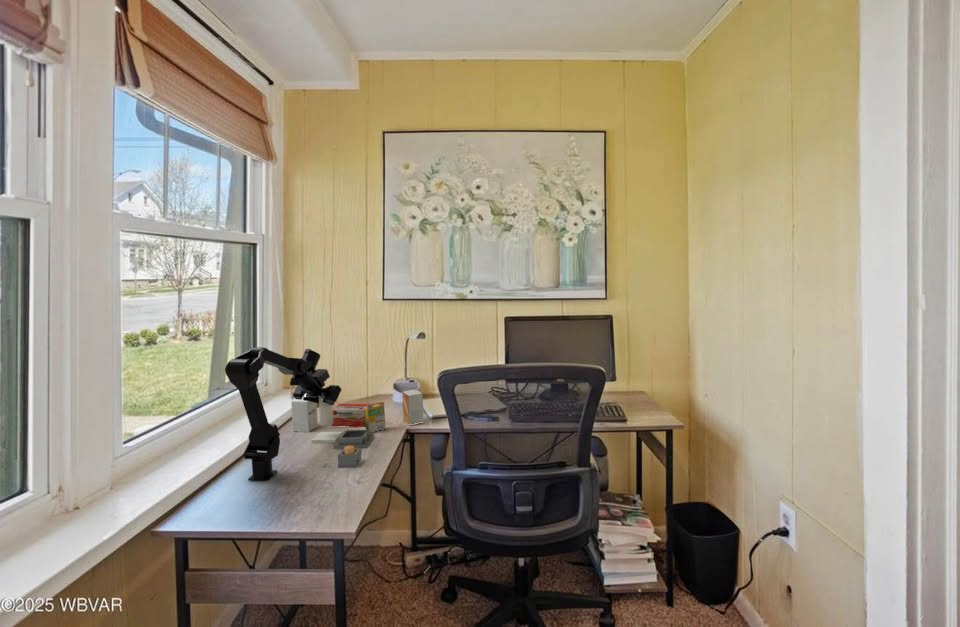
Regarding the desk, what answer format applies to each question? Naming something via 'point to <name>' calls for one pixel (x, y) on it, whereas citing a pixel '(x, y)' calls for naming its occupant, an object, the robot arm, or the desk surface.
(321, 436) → the pad
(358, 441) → the frame
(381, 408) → the crayon box
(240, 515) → the desk surface
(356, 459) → the block
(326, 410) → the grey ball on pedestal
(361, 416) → the medicine box
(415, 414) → the small box
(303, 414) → the supplement box
